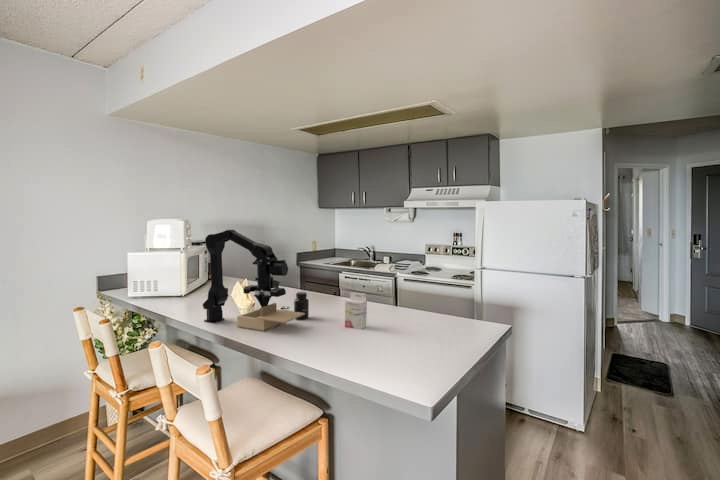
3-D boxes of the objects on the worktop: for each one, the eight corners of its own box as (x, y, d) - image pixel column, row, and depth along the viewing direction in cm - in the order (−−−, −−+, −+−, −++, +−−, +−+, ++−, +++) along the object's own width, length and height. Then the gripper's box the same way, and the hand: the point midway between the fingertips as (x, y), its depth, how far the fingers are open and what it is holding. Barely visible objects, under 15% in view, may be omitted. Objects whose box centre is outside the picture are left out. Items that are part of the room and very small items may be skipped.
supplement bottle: (305, 320, 172) (305, 294, 171) (291, 319, 173) (291, 294, 172) (310, 316, 179) (310, 291, 178) (297, 315, 180) (297, 291, 179)
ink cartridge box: (344, 327, 162) (344, 293, 161) (349, 324, 167) (349, 291, 166) (362, 329, 158) (362, 295, 158) (367, 326, 163) (367, 293, 162)
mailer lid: (256, 318, 156) (256, 309, 156) (277, 310, 169) (277, 301, 169) (285, 323, 150) (285, 313, 150) (305, 314, 163) (304, 305, 163)
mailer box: (237, 327, 161) (237, 316, 160) (258, 319, 174) (258, 308, 173) (263, 331, 155) (263, 319, 155) (283, 322, 168) (283, 311, 168)
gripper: (292, 273, 166) (293, 308, 167) (258, 270, 173) (259, 304, 174) (277, 277, 156) (278, 314, 157) (242, 274, 163) (242, 309, 164)
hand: (264, 310), depth 163 cm, fingers closed
